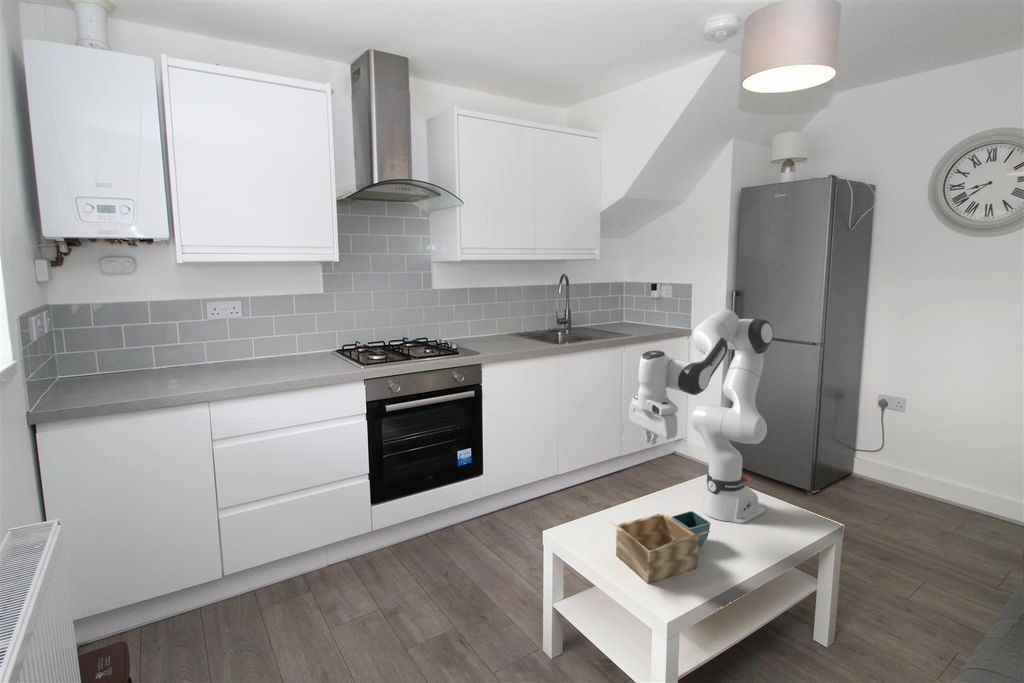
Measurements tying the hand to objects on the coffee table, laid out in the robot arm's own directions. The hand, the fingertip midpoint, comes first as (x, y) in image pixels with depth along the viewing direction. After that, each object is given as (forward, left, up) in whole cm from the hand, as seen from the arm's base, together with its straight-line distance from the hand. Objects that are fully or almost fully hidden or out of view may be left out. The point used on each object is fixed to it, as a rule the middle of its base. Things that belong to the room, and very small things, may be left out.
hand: (650, 443), depth 172 cm
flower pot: (-9, +10, -33) cm, 36 cm away
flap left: (+7, +24, -19) cm, 32 cm away
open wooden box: (+7, +13, -33) cm, 36 cm away
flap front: (+19, +13, -19) cm, 30 cm away
